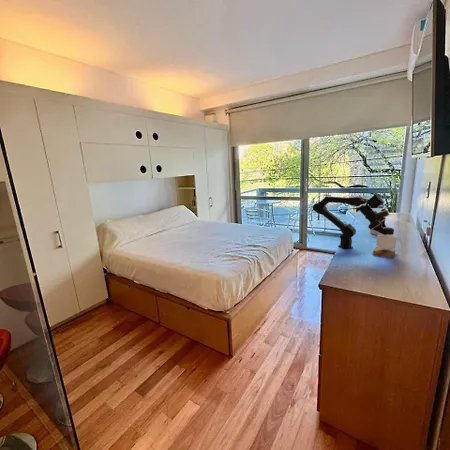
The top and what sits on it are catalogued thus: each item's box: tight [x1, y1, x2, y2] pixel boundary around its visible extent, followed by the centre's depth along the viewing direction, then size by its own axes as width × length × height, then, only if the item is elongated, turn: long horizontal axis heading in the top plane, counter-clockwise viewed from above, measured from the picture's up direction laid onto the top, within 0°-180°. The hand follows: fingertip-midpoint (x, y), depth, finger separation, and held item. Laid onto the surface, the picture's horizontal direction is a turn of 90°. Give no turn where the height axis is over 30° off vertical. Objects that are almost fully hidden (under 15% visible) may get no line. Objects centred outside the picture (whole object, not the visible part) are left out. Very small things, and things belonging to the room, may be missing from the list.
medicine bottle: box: [375, 226, 398, 250], centre depth 147 cm, size 7×7×12 cm
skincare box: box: [369, 216, 386, 236], centre depth 189 cm, size 8×6×15 cm
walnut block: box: [372, 246, 396, 259], centre depth 149 cm, size 10×10×3 cm
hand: (387, 233), depth 146 cm, fingers closed on medicine bottle, 6 cm apart
